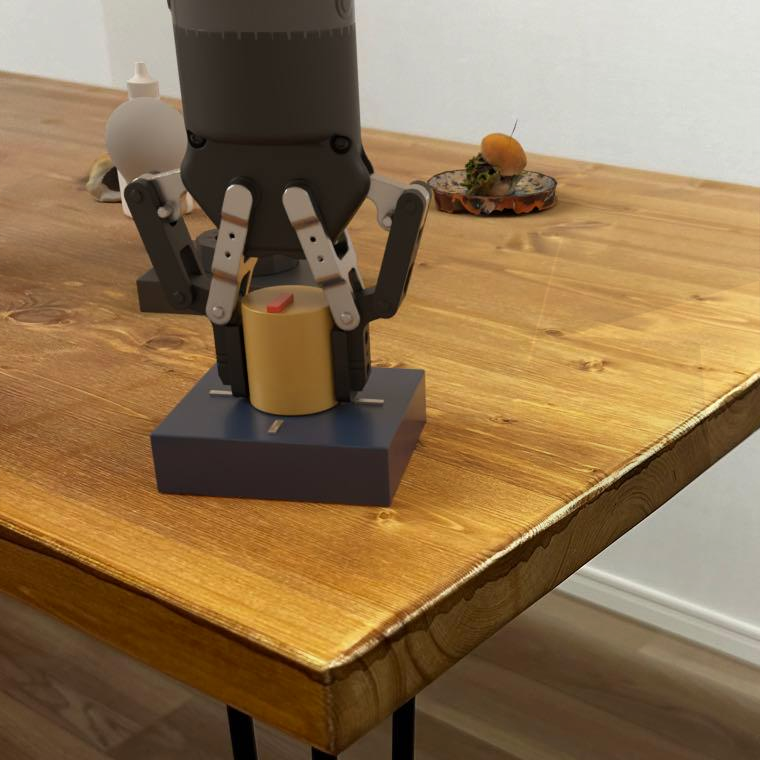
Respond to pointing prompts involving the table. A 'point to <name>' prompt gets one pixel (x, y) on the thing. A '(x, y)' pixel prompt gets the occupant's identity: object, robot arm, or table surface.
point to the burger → (494, 180)
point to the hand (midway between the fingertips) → (296, 392)
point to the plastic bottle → (137, 88)
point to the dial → (289, 349)
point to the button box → (264, 275)
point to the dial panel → (292, 444)
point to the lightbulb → (145, 137)
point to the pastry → (104, 180)
